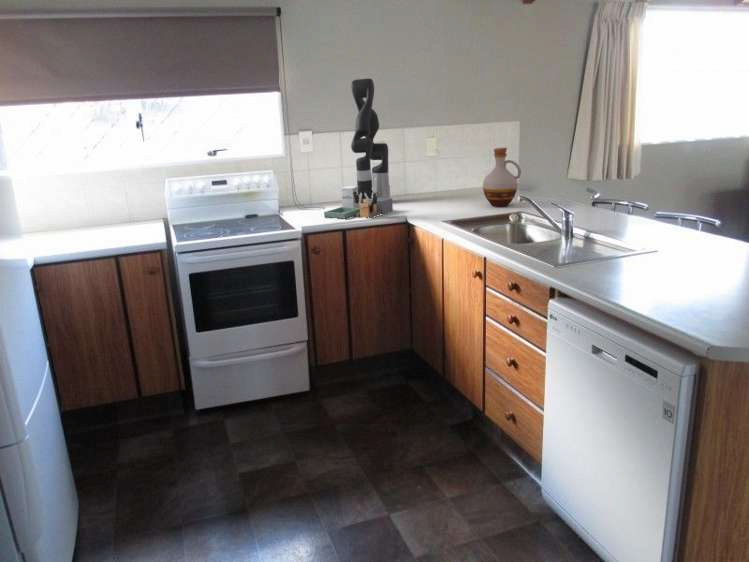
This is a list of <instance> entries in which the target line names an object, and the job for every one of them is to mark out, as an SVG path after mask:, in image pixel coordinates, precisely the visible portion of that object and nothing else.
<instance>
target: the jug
mask: <svg viewBox="0 0 749 562" xmlns="http://www.w3.org/2000/svg"><path fill="white" fill-rule="evenodd" d="M507 149H508V148H507V147H496V148H493V151H494V153H493V156H494V159H495V167H494V168H493V169H492V171H490V172H489V173H488V174H487V175H486V176H485V177H484V179H483V182H482V190H483V195H484V196H485V199H486V200H487V201H488V203H489V204H490V205H491V206H492V207H494V208H504V207H508V206H509V205H510V203H511V202H512V201H513V200H514V198H515V196H516V193H517V191H518V180H517V179H520V177H521V175H522V169H521V167H520V165H519V164H518V163H517V162H516V161H514V160H511V159H507V160H506V157H507V155H508V153H507ZM509 163H510V164H512V165H514V166H515V167H516V169H517V175H514V174H512V173H511V172H510V171H509V170H508V169H507V164H509Z"/></svg>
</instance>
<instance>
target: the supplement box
mask: <svg viewBox="0 0 749 562" xmlns="http://www.w3.org/2000/svg"><path fill="white" fill-rule="evenodd" d="M355 191H358V188H357V186H354V185H346V186H343V187H341V207H350V208H359V204H358V203H356V202H355V199H354V195H353V192H355Z"/></svg>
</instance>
